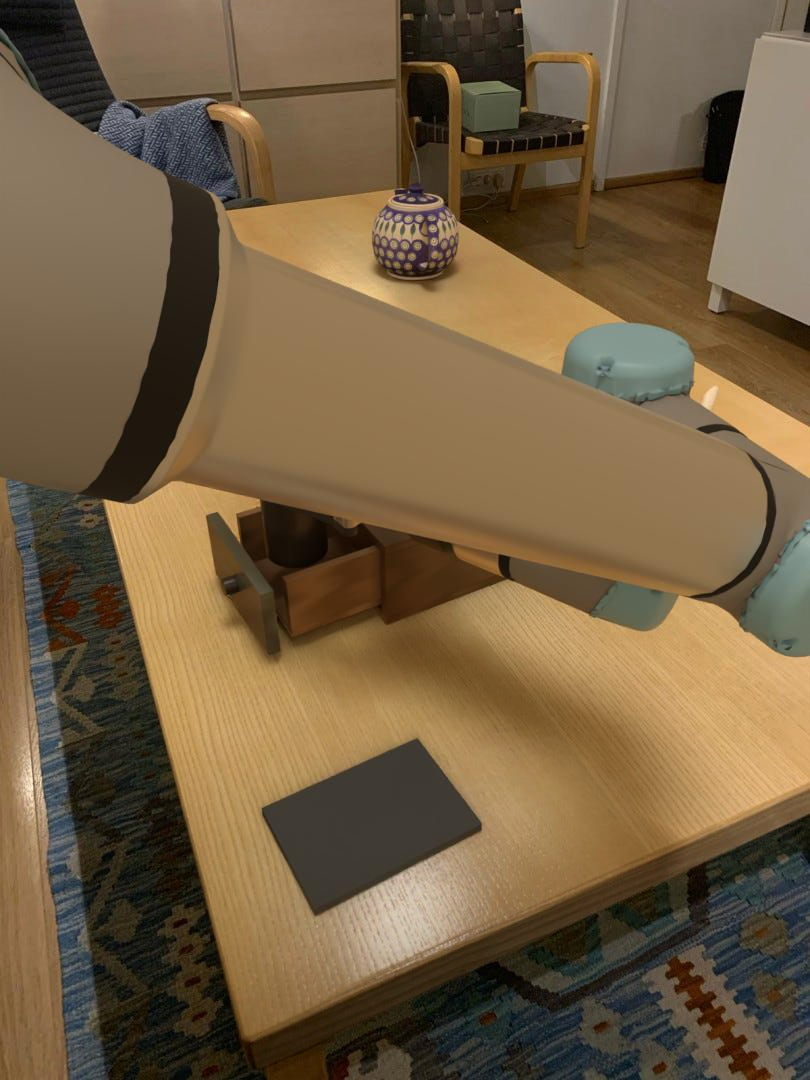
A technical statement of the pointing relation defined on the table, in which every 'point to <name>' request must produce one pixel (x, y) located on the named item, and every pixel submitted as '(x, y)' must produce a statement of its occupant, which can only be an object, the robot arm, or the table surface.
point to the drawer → (293, 579)
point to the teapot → (415, 235)
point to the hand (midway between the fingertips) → (241, 421)
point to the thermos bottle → (292, 536)
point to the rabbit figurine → (710, 398)
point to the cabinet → (420, 574)
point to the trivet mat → (368, 824)
